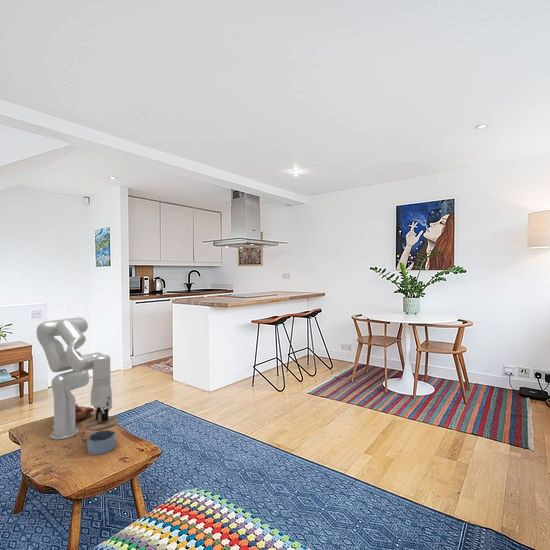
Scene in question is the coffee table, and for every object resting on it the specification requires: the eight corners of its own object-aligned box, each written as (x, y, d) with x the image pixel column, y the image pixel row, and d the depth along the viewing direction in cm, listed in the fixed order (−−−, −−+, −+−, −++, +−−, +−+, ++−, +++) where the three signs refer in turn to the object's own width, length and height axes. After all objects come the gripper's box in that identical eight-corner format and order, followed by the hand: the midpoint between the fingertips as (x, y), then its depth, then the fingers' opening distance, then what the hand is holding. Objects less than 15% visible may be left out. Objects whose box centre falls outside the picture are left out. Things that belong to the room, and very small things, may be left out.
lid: (78, 427, 162) (78, 415, 162) (105, 416, 175) (105, 405, 175) (98, 433, 156) (98, 420, 156) (124, 421, 169) (124, 409, 169)
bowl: (82, 450, 163) (82, 437, 163) (105, 440, 173) (105, 428, 173) (98, 456, 158) (98, 443, 158) (120, 445, 168) (120, 433, 168)
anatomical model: (97, 406, 202) (77, 389, 200) (79, 425, 192) (58, 407, 190) (91, 412, 208) (72, 395, 207) (74, 430, 198) (53, 413, 196)
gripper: (83, 381, 166) (83, 419, 166) (105, 386, 158) (106, 426, 158) (98, 377, 173) (98, 414, 173) (120, 381, 165) (120, 420, 165)
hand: (102, 419), depth 165 cm, fingers closed on lid, 3 cm apart
